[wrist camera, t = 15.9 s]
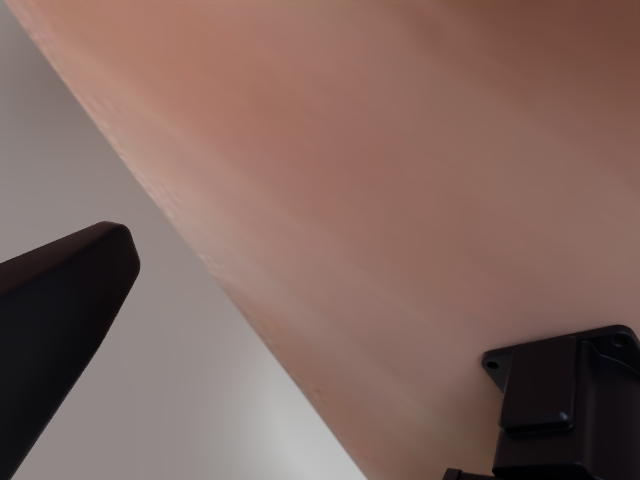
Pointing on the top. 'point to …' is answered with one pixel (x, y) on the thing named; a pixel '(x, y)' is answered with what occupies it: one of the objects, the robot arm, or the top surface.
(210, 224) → the top surface
